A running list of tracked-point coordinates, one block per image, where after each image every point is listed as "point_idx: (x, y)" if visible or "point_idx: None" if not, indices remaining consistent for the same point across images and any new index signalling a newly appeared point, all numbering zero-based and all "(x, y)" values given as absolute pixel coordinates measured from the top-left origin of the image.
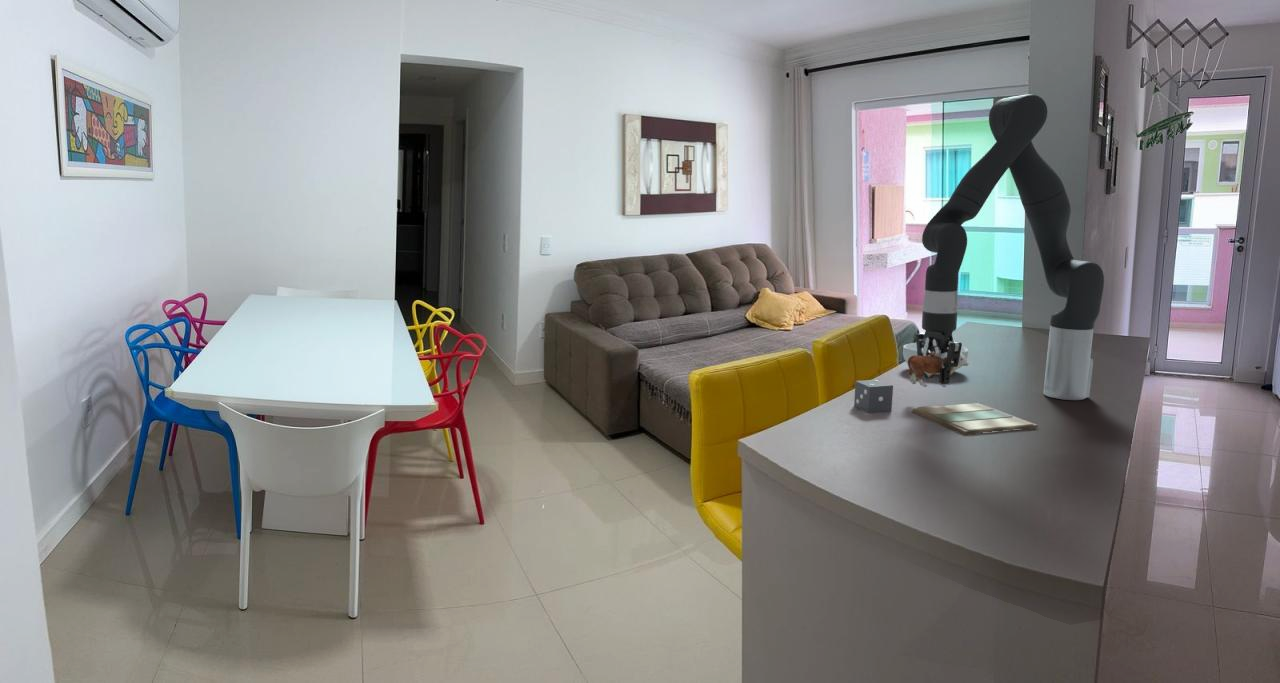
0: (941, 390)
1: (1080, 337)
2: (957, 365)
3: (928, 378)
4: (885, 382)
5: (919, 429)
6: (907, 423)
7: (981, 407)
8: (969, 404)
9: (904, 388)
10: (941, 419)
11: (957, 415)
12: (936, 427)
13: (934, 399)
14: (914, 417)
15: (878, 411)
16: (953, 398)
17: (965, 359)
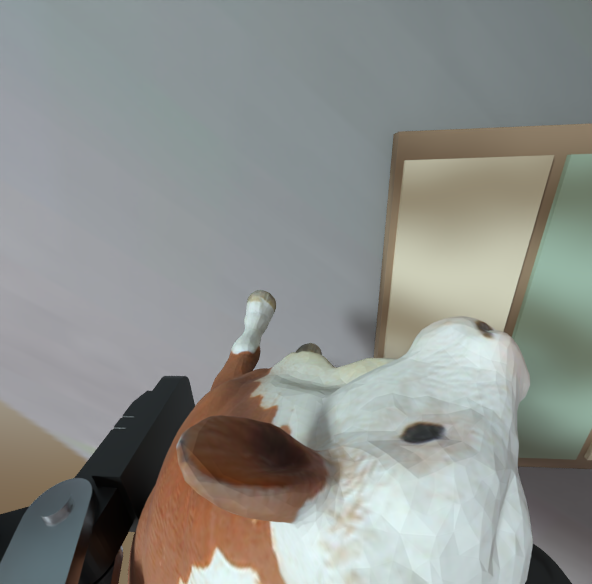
0: (17, 112)
1: None
2: (552, 563)
3: (191, 396)
4: None
5: (531, 518)
6: None
7: (490, 200)
8: (412, 225)
9: (4, 285)
10: (528, 456)
11: (533, 393)
12: (545, 477)
13: (209, 274)
14: None
15: None
16: (200, 164)
17: (515, 451)
